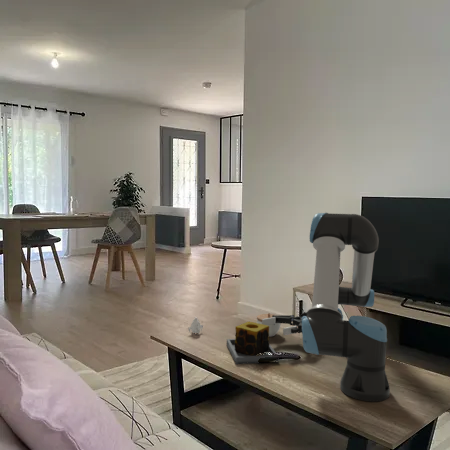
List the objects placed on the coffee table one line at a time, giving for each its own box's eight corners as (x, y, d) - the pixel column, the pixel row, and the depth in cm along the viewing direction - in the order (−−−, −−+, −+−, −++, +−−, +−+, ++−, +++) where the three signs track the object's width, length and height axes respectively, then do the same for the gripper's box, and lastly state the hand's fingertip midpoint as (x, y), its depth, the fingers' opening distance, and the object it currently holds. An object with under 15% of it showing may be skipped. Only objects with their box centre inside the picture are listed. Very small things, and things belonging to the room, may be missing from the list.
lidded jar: (281, 338, 192) (282, 317, 191) (257, 337, 192) (257, 316, 191) (279, 330, 202) (280, 310, 202) (255, 330, 202) (256, 309, 202)
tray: (278, 362, 165) (278, 355, 165) (235, 364, 162) (236, 357, 162) (264, 343, 184) (264, 337, 184) (226, 345, 182) (226, 339, 181)
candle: (255, 358, 166) (256, 332, 165) (233, 351, 172) (234, 326, 171) (269, 350, 174) (270, 325, 174) (248, 344, 180) (248, 320, 180)
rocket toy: (200, 336, 192) (200, 318, 192) (188, 335, 193) (188, 317, 193) (203, 332, 198) (203, 314, 197) (191, 331, 199) (191, 313, 198)
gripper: (333, 337, 179) (292, 345, 168) (292, 321, 200) (254, 327, 189) (334, 318, 178) (293, 326, 167) (293, 304, 199) (254, 310, 188)
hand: (272, 326), depth 178 cm, fingers open, 13 cm apart
